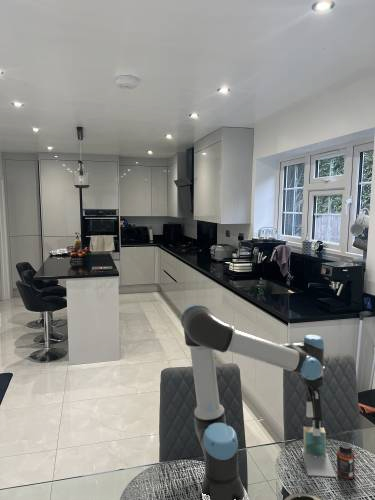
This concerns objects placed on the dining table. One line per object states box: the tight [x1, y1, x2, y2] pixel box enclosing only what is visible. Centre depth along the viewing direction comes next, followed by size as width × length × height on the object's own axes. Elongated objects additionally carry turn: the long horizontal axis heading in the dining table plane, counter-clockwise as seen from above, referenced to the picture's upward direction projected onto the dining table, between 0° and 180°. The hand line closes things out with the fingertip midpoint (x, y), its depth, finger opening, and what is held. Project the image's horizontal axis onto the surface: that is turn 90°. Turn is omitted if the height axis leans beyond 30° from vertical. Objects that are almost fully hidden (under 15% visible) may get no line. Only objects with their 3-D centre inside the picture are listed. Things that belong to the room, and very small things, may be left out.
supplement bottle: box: [336, 441, 356, 480], centre depth 134 cm, size 6×6×11 cm
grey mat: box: [300, 447, 337, 478], centre depth 142 cm, size 10×16×1 cm, turn 172°
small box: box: [302, 426, 327, 457], centre depth 146 cm, size 8×4×10 cm, turn 81°
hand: (313, 425), depth 146 cm, fingers open, 13 cm apart
